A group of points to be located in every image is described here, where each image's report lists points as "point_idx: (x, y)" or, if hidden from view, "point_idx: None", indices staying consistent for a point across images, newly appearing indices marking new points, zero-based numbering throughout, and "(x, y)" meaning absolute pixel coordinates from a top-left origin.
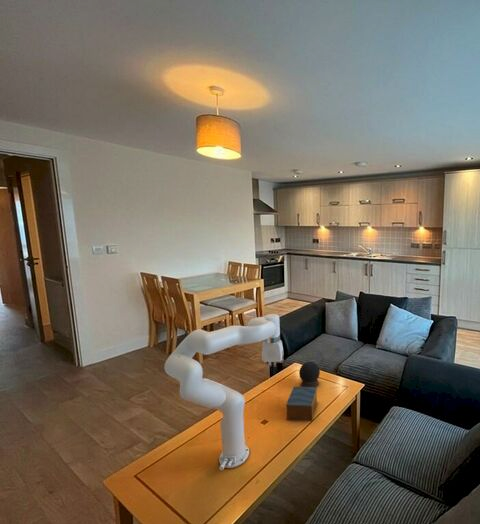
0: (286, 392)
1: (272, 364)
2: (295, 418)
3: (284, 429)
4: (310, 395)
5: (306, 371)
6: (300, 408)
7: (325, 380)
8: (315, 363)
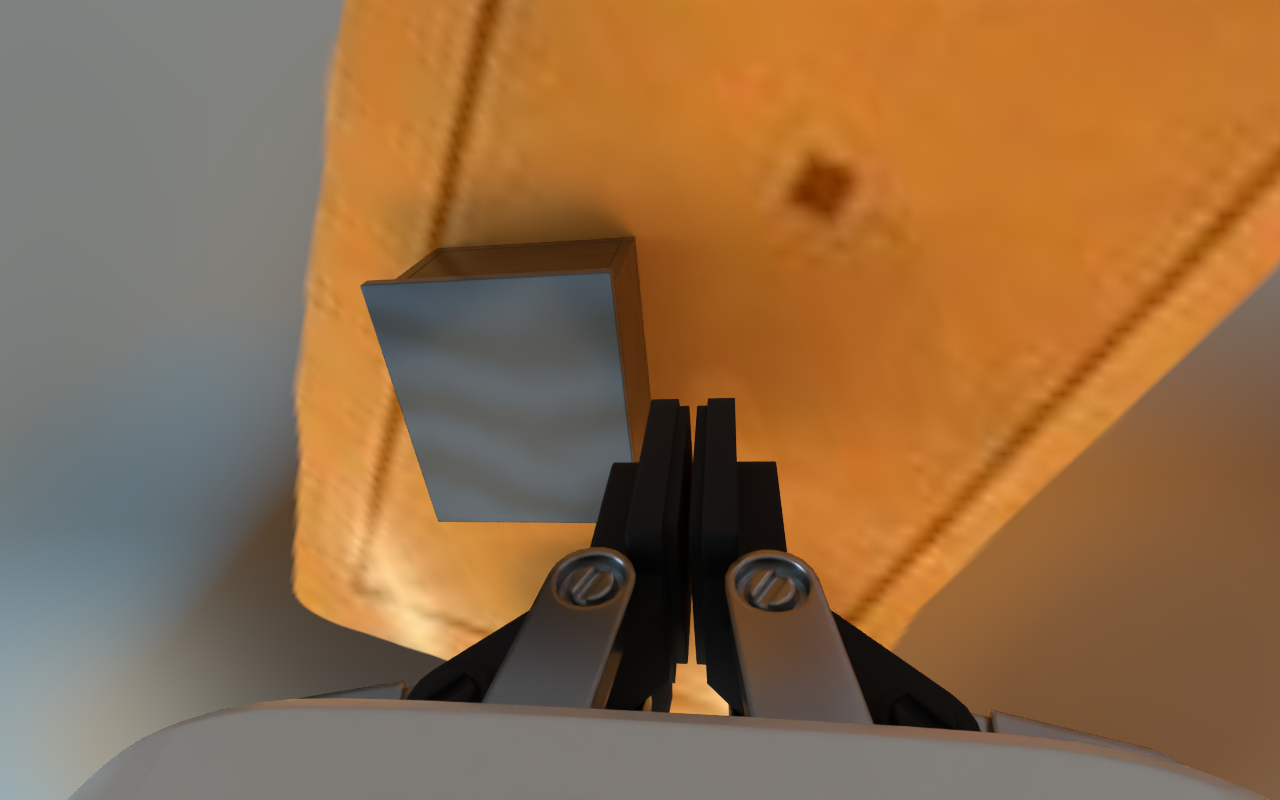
0: None
1: (708, 634)
2: (561, 245)
3: (612, 117)
4: (437, 420)
5: None
6: None
7: None
8: None
